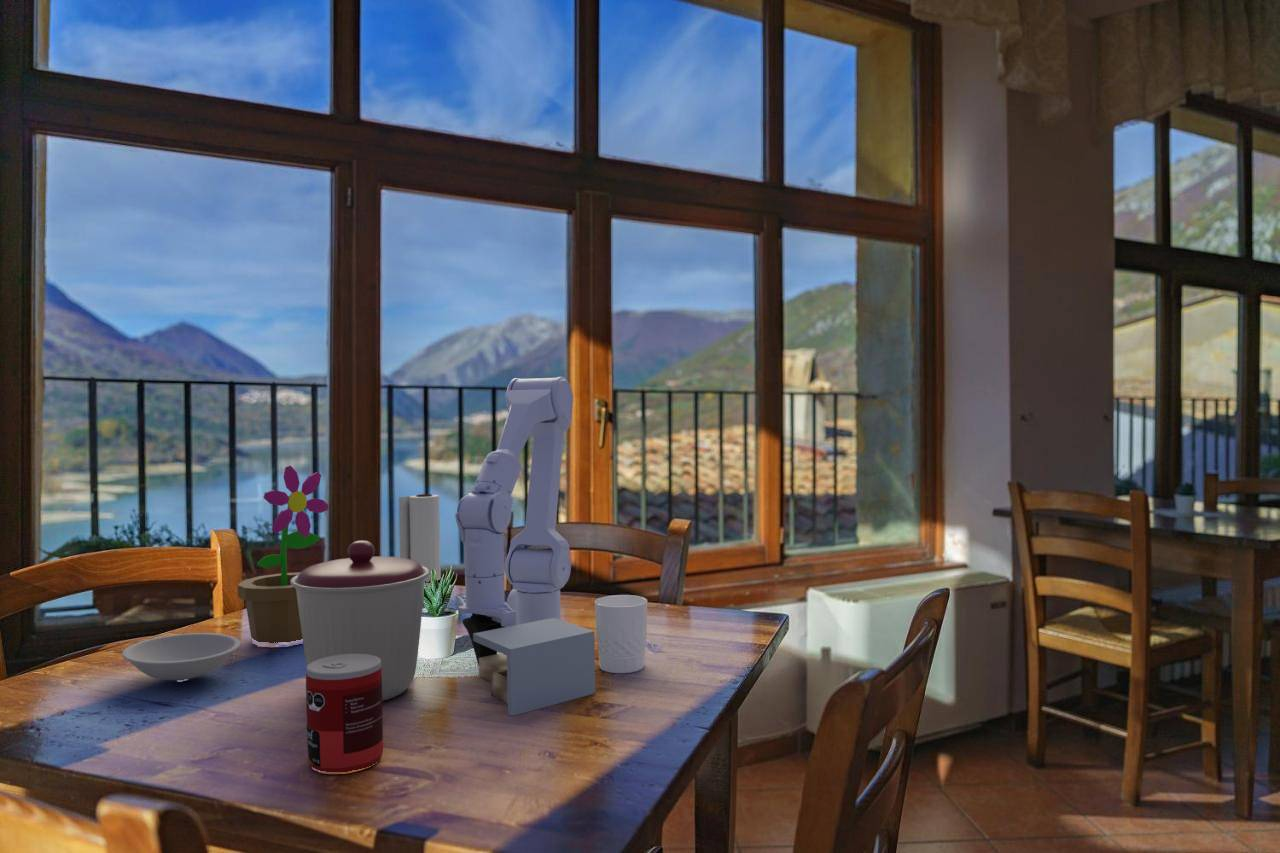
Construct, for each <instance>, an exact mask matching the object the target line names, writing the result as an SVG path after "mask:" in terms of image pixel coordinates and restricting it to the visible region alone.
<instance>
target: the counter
mask: <svg viewBox="0 0 1280 853" xmlns="http://www.w3.org/2000/svg"><path fill="white" fill-rule="evenodd" d="M473 641H475V642H477V643H479V644H482V645H484V646H486V647H488V648H491V649H493V650H495V651H497V653H501V654H503V655H506V656H507V696H508V703H507V715H508V716H510V717H514V716H518V715H520V714H525V713H527V712H528V713H529V712H532V711H537V710H540V709H543V708H547V707H550V706H554V705H557V704H562V703H566V702H569V701H572V700H575V699H580V698H584V697H587V696H591V695H594V694H596V659H595V658H596V655H595V653H596V652H595V651H596V650H595V648H596V645H595V644H596V642H595V630H592V629H589V628H586V627H583V626H580V625H576V624H574V623H572V622H568V621H565V620H563V619H561V620H559V619H556V618H550V619H545V620H540V621H535V622H529V623H524V624H519V625H514V626H509V627H504V628H499V629H494V630H489V631H484V632H479V633H473Z"/></svg>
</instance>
